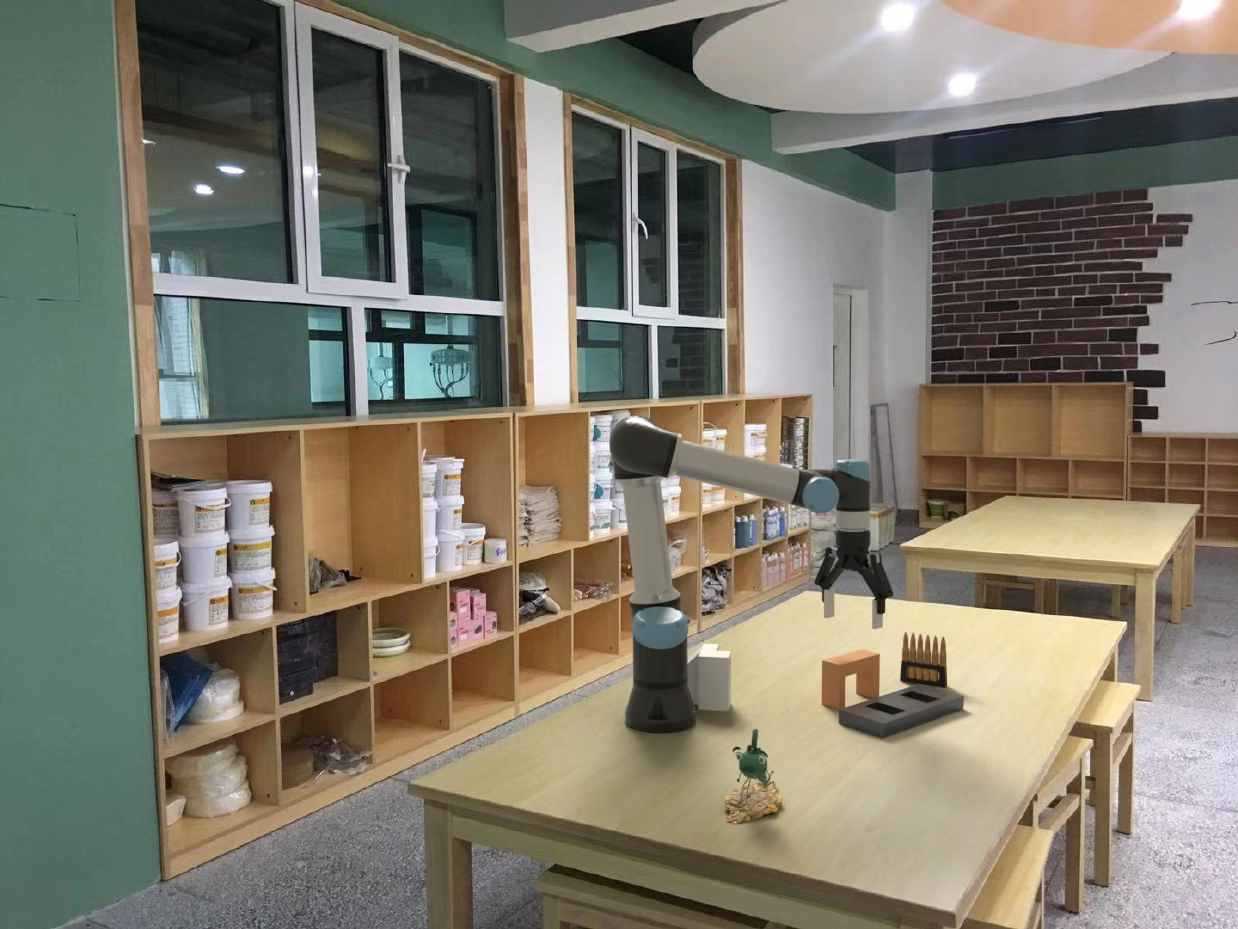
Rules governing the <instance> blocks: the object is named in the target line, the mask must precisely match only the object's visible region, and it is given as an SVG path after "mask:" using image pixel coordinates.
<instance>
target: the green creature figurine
mask: <svg viewBox="0 0 1238 929" xmlns="http://www.w3.org/2000/svg"><path fill="white" fill-rule="evenodd" d="M758 738H759V729H757V728H754V729H752V732H751V743H750V744H748V745H747V747H746V750H745V751H744V752H743V753H742V752H741V750H742V748H741V747H740V746H734V747H733V749H732V753H734V752H735V758H736V760H737V761H738V762H739V763H738V769H739V770H740V773H739V777H738V778H736V782H737V783H740V781H741V775H743V776H745V777H746V780H745V782H744V783H743V785H741V786H739V787H738V788H736V789H733V790H732V792H731V793H729V794H728V795H727V796H725V797H724V800H725V801H724V805H723V806H724V810H725V811H729V815H728V816H727V817H726V822H728V823H729V822H730V823H732V824H734V825H738V824H742V823H743V822H750V821H752V822H753V821H757V820H759V819H760V818H762V817H763V816H764V815H769V814H770V813H771V814H772V813H773V814H775V813H777V812H778V810H779V808H780V807H779V806H780V805H781V803H782V801H783V800H784V798H783V795H781V794H780V791H779V790H780V789H779V788H778V787H777V782H776V781H775V780H773V781H772V780H771V779H772V774H774V773H775V771H774V770H771V773H770V774H769V772H768V760H767V758H769V756H768V754H767V752H766V751H765V750H762V748H761V747H758ZM751 780H755V783H753V784H752V785H751Z"/></svg>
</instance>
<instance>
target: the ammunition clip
mask: <svg viewBox="0 0 1238 929" xmlns="http://www.w3.org/2000/svg"><path fill="white" fill-rule="evenodd" d="M902 638H903V639H902V648H901V661H900V673H899V674H900V676H899V678H900V679H899V682H901V683H902V682H903V683H907V684H915V685H917V684H922V685H926V686H930V687H933V688H940V689H941V688H942V689H946V688H947V687H948V670H947V669H948V667H947V666H948V665H947V655H948V654H947V647H946V646H947V644H946V643H947V642H946V639H945V636H942V638H941V640H940V650H939V641H938V637H937V635H935V636H934V637H933V639H932V647H931V638H930V635H929V634H927V635H926V637H925V643H924V641H923V640H924V639H923V635H922V633H919V635H918V639H917V644H916V636H915V633H914V632H912V633H911V637H910V641H909V636H908V633H907V631H905V632H904V634H903V637H902ZM909 642H910V644H909ZM916 645H917V646H916ZM916 647H917V648H916ZM931 648H932V649H931Z"/></svg>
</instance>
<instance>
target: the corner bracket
mask: <svg viewBox="0 0 1238 929" xmlns="http://www.w3.org/2000/svg"><path fill="white" fill-rule="evenodd" d="M687 669H688V675H687V679H688V689H689V692H690V695H691V698H692V701H693V705H696V706H697V705H698V706H697V710H701V711H718V712H729V711H730V707H731V705H732V704H731V703H732V685H731V684H732V651H731V650H730V651H729V650H720V649H719V643H717V644H715V643H703V644H702V645H701V646H700V647H699V648H698V649H696V651H694V653H692V655H690V656H689V657H687Z"/></svg>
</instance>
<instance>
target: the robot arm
mask: <svg viewBox="0 0 1238 929" xmlns="http://www.w3.org/2000/svg"><path fill="white" fill-rule="evenodd" d="M609 436H610V438H609V443H608V444H609V452H610V456H611V460H612V469H613V476H614V481H615V482H617V483H618V484H619V485H620V486H621V487H622V494H623V503H624V509H625V510H624V512H625V519H626V520H625V521H626V529H627V536H628V544H629V552H630V554H629V555H630V561H631V570H632V571H631V572H632V576H633V577H632V578H633V585H634V592H633V593H632V594H631V595H630V597H629V599H628V600H629V610H630V619H631V634H632V689H631V691H630V695H629V699H628V703H627V705H626V707H625V709H624V710H625V711H624V717H625V718H624V721H625V724H626V725H627V726H629V727H630V728H633V729H634V730H635V729H636V730H639V731H643V732H650V733H671V732H673V733H675V732H678V731H684V730H685V729H687V730H688V729H689V728H691V727H693V726H694V725H695V724H696V722H697V712H696V708H695V706H694V705H695V704H693V701H692V698H691V695H690V692H689V689H688V679H687V675H688V669H687V659H688V635H689V624H688V619H687V616H686V615H685V614H684V613H683V606H682V597H681V592H680V591H678V590H677V589H676V588H675V587H674V586H673V576H672V569H671V560H670V552H669V542H668V532H667V527H666V525H667V524H666V518H665V509H664V508H665V507H664V500H663V491H662V480H663V479H670V478H672V477H674V476H676V477H681V478H685V479H688V480H692V481H697V482H700V483H704V484H708V485H712V486H715V487H720V488H723V489H727V490H733V491H736V492H740V493H742V494H743V493H744V494H748V495H751V496H755V497H759V498H763V499H766V500H767V499H768V500H771V501H775V502H779V503H784V504H787V505H791V506H794V507H798V508H802V509H806V510H809V512H812V513H816V514H827V513H829V512H831V511H832V510H834V509H835V527H836V528H837V529H836V530H835V545H833V546H827V547H826V548H825V551H824V552H825V553H824V557H823V561H822V563H821V564H820V568H819V570H818V572H817V574H816V576H815V579H814V585H815V586H819V587H820V589H821V602H822V603H823V618H824V619H829V618H833V617H835V588H833V587H834V586H833V585H834V584H835V582H836V581H837V580H838V578H839V577H840V576H841V575H842V573H844V571H845V570H846V571H852V572H855V573H856V572H857V573H858V574H859V575H860V576H861V577H862V579H863V580H864V582H865V584H866V586H868V588H869V591H870V592H871V593H872V594H873V597H874V599H872V601H871V604H872V605H871V606H872V608H871V611H872V612H871V621H872V622H871V629H872V630H877V629H881V628H883V626H884V624H883V623H884V616H883V615H884V614H886V600H887V599H888V598H893V597H894V595H895V594H894V592H893V589H892V586H891V583H890V580H889V578H888V576H887V573H886V570H885V568H884V565H883V559H882V554H881V553H880V552H878V553H870V551H869V549H870V545H871V531H870V527H871V483H872V478H871V466H870V465H871V464H870V462H868V460H865V459H859V458H858V459H857V458H846V459H838V460H836V461H835V466H834V468H829V469H828V468H827V469H826V468H825V469H820V468H819V469H817V468H816V469H800V468H792V467H790V466H784V465H780V464H777V463H772V462H770V461H765V460H762V459H761V460H760V459H757V458H753V457H750V456H745V455H741V454H738V453H735V452H730V451H727V450H724V449H718V448H715V447H711V446H707V445H702V444H699V443H696V442H695V443H694V442H692V441H687V440H684V439H683V437H682V436H681V435H680V433H675V432H672V431H668V430H666V429H663V428H661V427H659V424H657V423H656V422H655V421H654V420H653V419H651V418H649V417H647V416H643V415H631V416H627V417H625V418H622V419H621V420H620V421H618V422H617V423H616V424H615V425H614V427H613V428H612V431H611V433H610V435H609ZM836 557H837V559H838V560H837V561H836V562H835V560H836ZM834 562H835V564H834Z"/></svg>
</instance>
